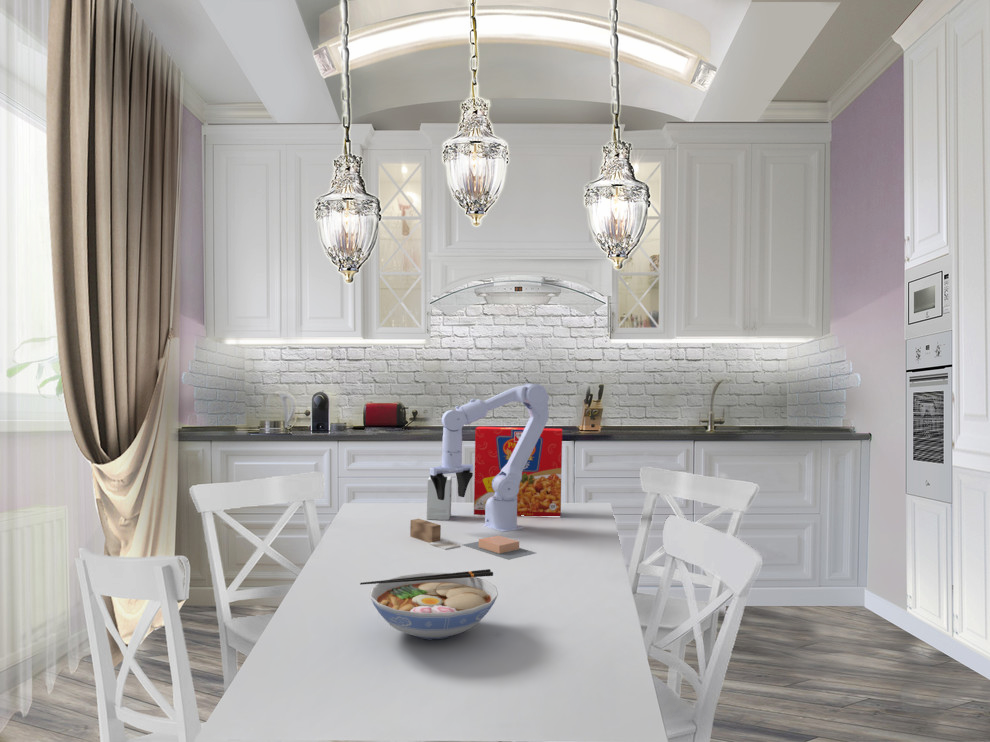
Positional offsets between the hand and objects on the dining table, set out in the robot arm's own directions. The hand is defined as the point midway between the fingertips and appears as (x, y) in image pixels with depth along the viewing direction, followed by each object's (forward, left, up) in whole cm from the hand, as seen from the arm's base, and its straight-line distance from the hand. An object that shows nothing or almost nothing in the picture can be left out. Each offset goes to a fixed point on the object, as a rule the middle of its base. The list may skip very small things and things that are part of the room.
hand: (451, 498), depth 200 cm
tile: (+21, -4, -8) cm, 23 cm away
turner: (+8, -13, -10) cm, 18 cm away
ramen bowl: (+59, -51, -10) cm, 78 cm away
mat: (+25, -4, -9) cm, 27 cm away
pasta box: (-5, +32, -10) cm, 34 cm away
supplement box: (-16, +8, -10) cm, 20 cm away
